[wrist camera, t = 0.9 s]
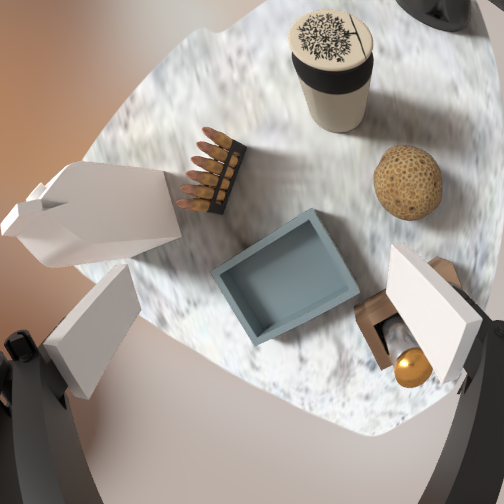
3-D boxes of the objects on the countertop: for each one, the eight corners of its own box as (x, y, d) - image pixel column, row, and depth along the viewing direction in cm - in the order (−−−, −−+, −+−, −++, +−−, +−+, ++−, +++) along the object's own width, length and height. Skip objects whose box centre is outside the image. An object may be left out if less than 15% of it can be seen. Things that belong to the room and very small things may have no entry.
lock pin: (396, 298, 36) (426, 345, 21) (406, 320, 36) (437, 375, 20) (373, 312, 37) (389, 365, 22) (384, 333, 37) (402, 394, 22)
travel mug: (309, 132, 37) (285, 72, 20) (308, 84, 36) (284, 9, 19) (366, 134, 35) (381, 74, 18) (362, 85, 34) (368, 8, 17)
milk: (130, 257, 48) (3, 284, 24) (114, 198, 48) (-10, 196, 24) (181, 236, 45) (39, 255, 20) (163, 171, 45) (26, 145, 20)
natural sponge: (362, 159, 35) (369, 139, 26) (420, 151, 33) (443, 131, 23) (375, 224, 36) (387, 226, 26) (434, 215, 33) (462, 214, 24)
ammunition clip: (222, 214, 42) (180, 213, 31) (212, 210, 43) (167, 208, 31) (247, 146, 40) (212, 122, 29) (236, 143, 40) (198, 119, 29)
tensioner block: (436, 256, 34) (457, 265, 26) (456, 303, 33) (477, 321, 25) (354, 306, 38) (356, 327, 30) (377, 351, 37) (382, 378, 30)
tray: (314, 209, 38) (311, 208, 34) (358, 284, 37) (360, 292, 33) (222, 267, 43) (209, 272, 39) (262, 334, 42) (254, 346, 38)
